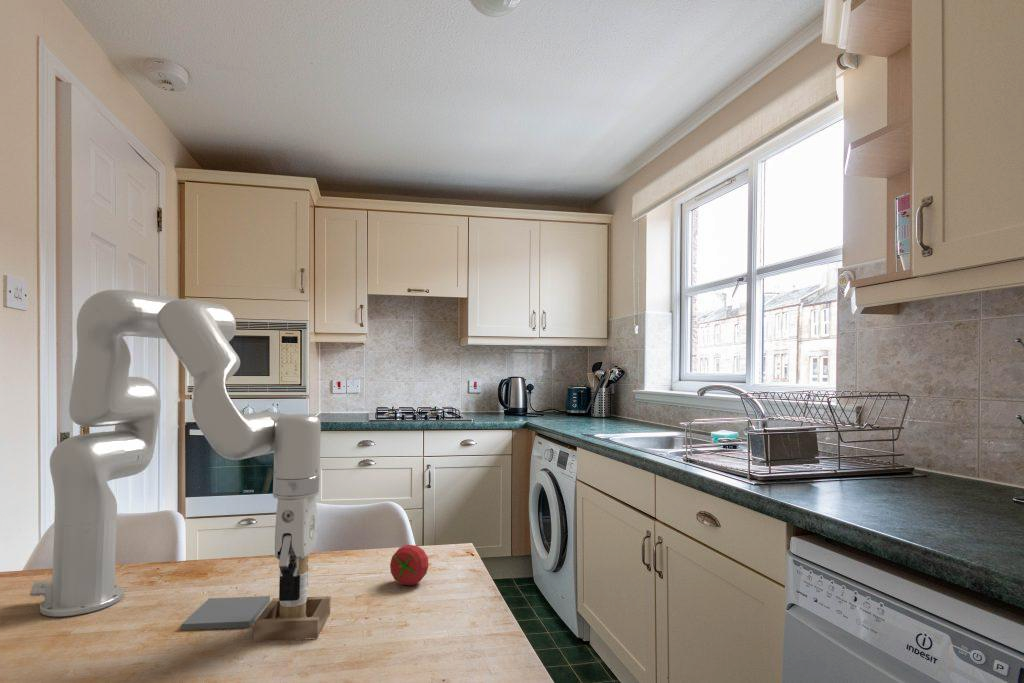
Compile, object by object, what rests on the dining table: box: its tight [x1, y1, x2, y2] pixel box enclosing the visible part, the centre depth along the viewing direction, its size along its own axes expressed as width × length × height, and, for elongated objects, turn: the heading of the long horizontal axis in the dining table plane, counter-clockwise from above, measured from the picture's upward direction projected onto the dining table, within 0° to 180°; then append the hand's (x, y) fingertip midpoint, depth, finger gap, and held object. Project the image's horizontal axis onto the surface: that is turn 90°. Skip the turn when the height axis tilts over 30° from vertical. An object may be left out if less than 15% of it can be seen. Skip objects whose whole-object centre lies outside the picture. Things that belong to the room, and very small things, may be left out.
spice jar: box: [280, 547, 309, 618], centre depth 98 cm, size 5×5×13 cm
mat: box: [180, 595, 271, 631], centre depth 103 cm, size 11×11×1 cm
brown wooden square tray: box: [253, 595, 332, 643], centre depth 98 cm, size 10×10×3 cm
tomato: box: [389, 544, 430, 586], centre depth 118 cm, size 8×8×8 cm
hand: (293, 592), depth 98 cm, fingers closed on spice jar, 4 cm apart
